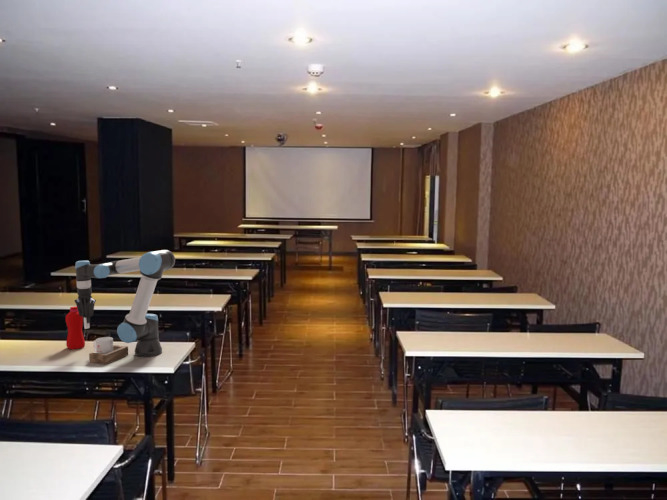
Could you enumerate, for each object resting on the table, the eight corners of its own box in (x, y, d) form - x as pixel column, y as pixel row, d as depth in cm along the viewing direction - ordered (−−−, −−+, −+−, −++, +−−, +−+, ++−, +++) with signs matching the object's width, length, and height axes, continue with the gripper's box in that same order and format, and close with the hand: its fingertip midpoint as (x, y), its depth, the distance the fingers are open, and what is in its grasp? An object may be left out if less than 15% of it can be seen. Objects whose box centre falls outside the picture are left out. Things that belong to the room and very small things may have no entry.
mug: (117, 357, 331) (116, 337, 330) (105, 361, 323) (104, 341, 322) (100, 354, 336) (99, 335, 335) (88, 358, 328) (88, 339, 326)
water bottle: (79, 344, 358) (77, 304, 355) (86, 347, 350) (84, 306, 348) (63, 347, 352) (61, 306, 349) (70, 350, 344) (68, 309, 341)
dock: (128, 354, 336) (127, 346, 335) (106, 364, 318) (105, 355, 317) (112, 353, 339) (111, 344, 338) (89, 362, 321) (89, 353, 320)
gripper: (98, 286, 334) (101, 327, 337) (79, 286, 338) (82, 326, 340) (89, 289, 327) (92, 330, 330) (70, 288, 331) (73, 329, 333)
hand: (87, 328), depth 335 cm, fingers closed
